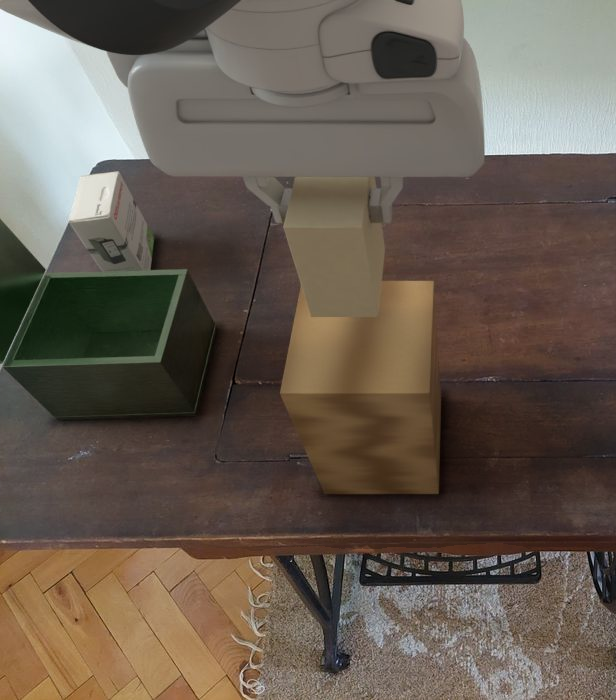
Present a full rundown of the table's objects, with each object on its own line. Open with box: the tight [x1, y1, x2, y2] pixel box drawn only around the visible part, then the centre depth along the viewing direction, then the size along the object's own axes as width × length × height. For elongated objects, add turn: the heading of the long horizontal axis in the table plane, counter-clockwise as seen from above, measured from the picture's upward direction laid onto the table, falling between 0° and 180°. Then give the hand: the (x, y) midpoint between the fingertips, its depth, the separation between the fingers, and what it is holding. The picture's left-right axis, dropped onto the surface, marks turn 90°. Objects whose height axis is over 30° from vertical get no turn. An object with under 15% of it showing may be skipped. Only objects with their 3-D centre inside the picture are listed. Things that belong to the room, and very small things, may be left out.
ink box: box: [67, 170, 155, 272], centre depth 83 cm, size 9×5×12 cm, turn 10°
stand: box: [279, 280, 442, 495], centre depth 63 cm, size 12×12×20 cm
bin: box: [2, 268, 218, 421], centre depth 73 cm, size 16×13×11 cm
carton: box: [282, 177, 386, 317], centre depth 46 cm, size 5×7×9 cm
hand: (336, 217), depth 45 cm, fingers closed on carton, 5 cm apart
